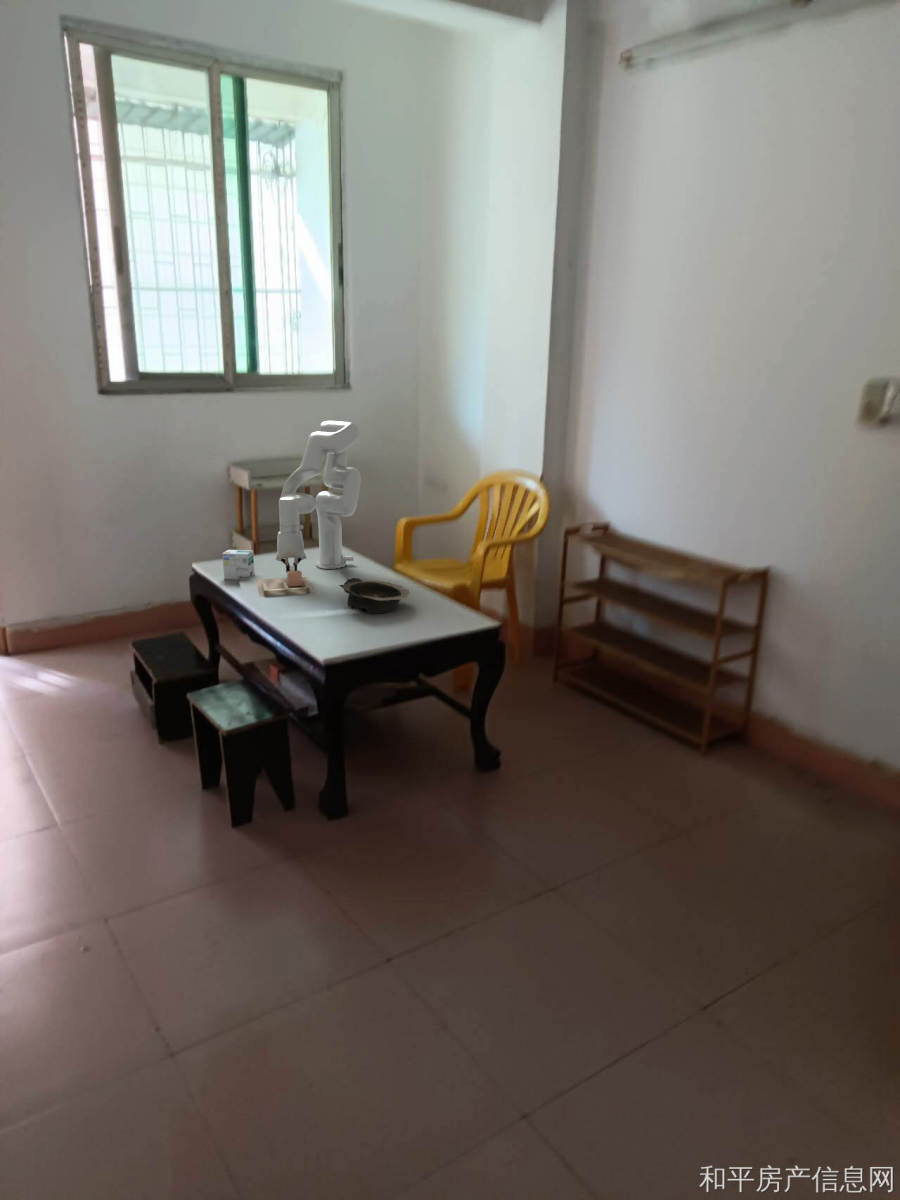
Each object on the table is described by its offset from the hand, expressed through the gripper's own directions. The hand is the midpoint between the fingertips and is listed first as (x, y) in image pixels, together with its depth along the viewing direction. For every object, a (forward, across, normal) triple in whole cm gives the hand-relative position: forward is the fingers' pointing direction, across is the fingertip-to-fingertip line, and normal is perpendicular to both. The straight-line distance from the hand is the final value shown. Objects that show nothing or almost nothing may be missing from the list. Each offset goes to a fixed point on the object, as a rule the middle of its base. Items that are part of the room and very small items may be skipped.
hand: (291, 574), depth 325 cm
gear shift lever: (+2, 0, +7) cm, 7 cm away
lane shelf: (+3, +4, +11) cm, 12 cm away
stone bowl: (+3, -26, +40) cm, 47 cm away
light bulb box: (+3, +20, -10) cm, 22 cm away
